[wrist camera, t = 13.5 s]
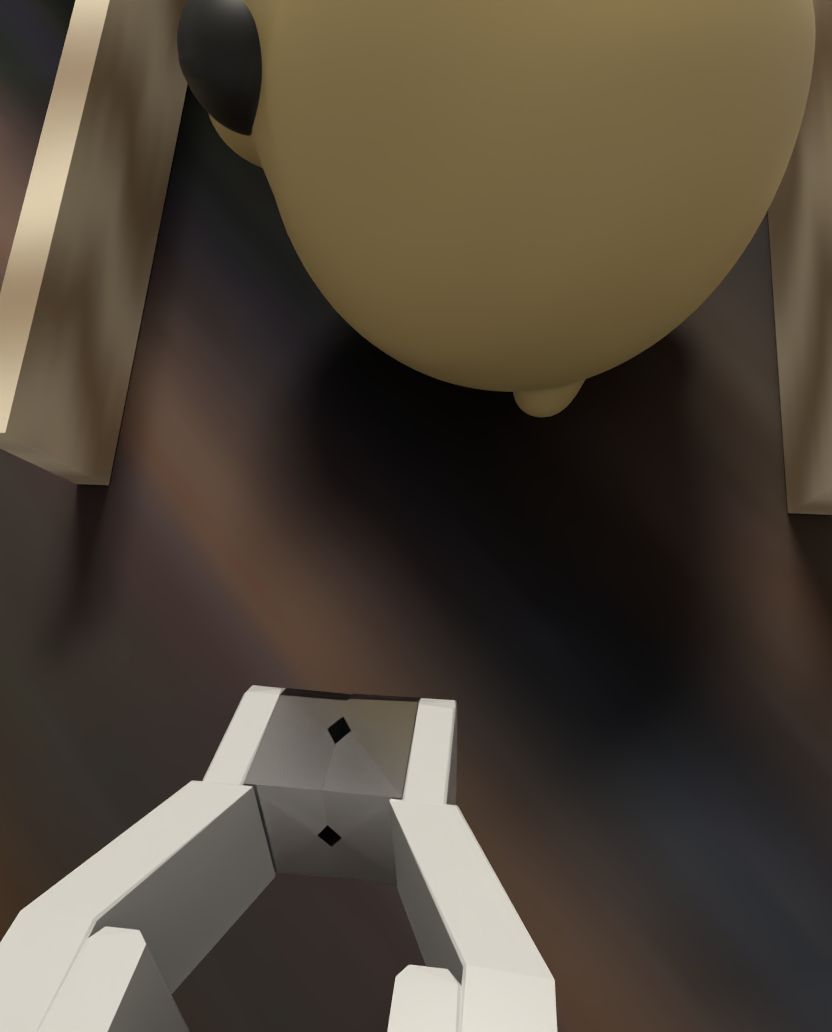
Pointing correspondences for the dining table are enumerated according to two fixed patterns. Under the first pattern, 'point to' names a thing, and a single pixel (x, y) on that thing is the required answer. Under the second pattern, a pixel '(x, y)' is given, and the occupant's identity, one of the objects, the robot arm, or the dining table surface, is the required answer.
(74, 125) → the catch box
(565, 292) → the yellow animal toy
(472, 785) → the dining table surface
